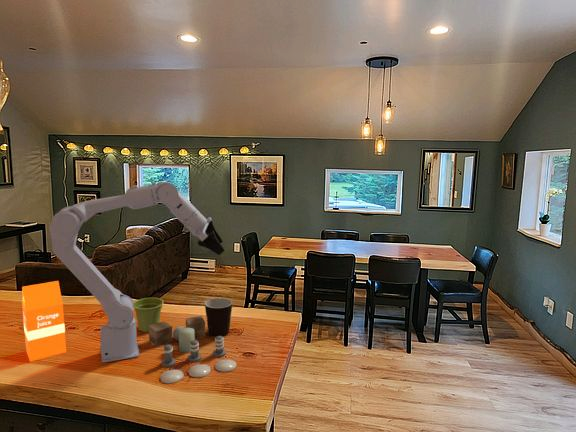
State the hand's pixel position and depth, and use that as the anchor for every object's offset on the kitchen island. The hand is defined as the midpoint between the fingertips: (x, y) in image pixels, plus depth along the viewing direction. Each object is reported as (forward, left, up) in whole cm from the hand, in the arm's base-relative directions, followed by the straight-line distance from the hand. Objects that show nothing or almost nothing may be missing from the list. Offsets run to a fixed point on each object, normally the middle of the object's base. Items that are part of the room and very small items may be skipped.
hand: (220, 247), depth 117 cm
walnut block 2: (-7, +5, -29) cm, 30 cm away
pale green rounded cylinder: (-11, -3, -29) cm, 31 cm away
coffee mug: (+1, +5, -29) cm, 29 cm away
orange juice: (-48, +10, -29) cm, 57 cm away
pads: (-10, -16, -29) cm, 34 cm away
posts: (-10, -9, -29) cm, 32 cm away
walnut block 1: (-17, +5, -29) cm, 34 cm away
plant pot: (-20, +15, -29) cm, 38 cm away
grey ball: (-12, +4, -29) cm, 31 cm away
